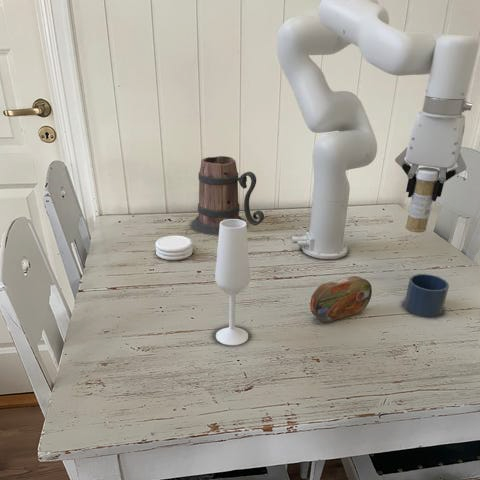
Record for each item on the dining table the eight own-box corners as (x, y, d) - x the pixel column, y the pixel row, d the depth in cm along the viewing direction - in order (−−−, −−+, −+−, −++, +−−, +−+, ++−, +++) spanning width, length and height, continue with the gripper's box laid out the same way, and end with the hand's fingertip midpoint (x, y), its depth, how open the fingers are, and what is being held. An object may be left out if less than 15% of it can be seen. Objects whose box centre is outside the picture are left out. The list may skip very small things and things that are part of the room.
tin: (314, 326, 103) (318, 291, 99) (306, 319, 105) (309, 284, 101) (369, 310, 109) (376, 276, 105) (360, 304, 112) (366, 271, 107)
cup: (412, 317, 107) (418, 291, 103) (398, 299, 114) (404, 274, 110) (448, 316, 107) (455, 290, 104) (432, 298, 114) (438, 273, 111)
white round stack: (149, 257, 132) (148, 245, 130) (167, 244, 140) (166, 232, 138) (182, 263, 129) (181, 251, 127) (198, 249, 137) (198, 238, 135)
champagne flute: (237, 348, 96) (239, 233, 83) (209, 338, 99) (206, 225, 86) (254, 333, 100) (258, 221, 88) (227, 323, 103) (227, 214, 91)
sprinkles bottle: (415, 224, 112) (429, 165, 105) (430, 231, 109) (444, 171, 102) (400, 227, 111) (412, 167, 104) (414, 234, 107) (428, 173, 100)
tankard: (181, 228, 150) (178, 162, 140) (208, 212, 163) (207, 150, 153) (250, 242, 142) (252, 173, 131) (273, 224, 154) (276, 160, 144)
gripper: (489, 108, 96) (464, 199, 106) (402, 100, 102) (386, 187, 112) (488, 114, 90) (462, 209, 100) (396, 105, 96) (379, 196, 106)
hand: (422, 196), depth 106 cm, fingers closed on sprinkles bottle, 4 cm apart
